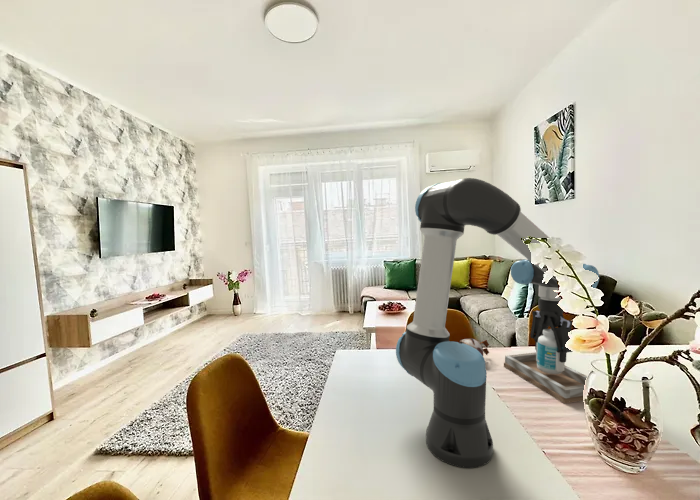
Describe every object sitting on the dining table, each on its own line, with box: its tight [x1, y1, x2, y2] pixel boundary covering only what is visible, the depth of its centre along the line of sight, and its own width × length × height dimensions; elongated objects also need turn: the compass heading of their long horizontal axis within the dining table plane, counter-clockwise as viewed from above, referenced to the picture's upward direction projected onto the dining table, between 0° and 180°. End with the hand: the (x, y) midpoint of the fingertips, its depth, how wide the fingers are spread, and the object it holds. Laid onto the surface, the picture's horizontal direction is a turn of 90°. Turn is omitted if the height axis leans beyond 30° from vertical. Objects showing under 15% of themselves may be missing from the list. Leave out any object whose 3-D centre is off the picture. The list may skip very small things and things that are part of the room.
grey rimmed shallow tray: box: [503, 351, 588, 404], centre depth 109 cm, size 26×15×4 cm, turn 12°
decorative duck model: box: [459, 338, 490, 357], centre depth 127 cm, size 15×8×15 cm
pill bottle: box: [537, 328, 563, 374], centre depth 108 cm, size 8×7×14 cm
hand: (549, 365), depth 109 cm, fingers closed on pill bottle, 7 cm apart
